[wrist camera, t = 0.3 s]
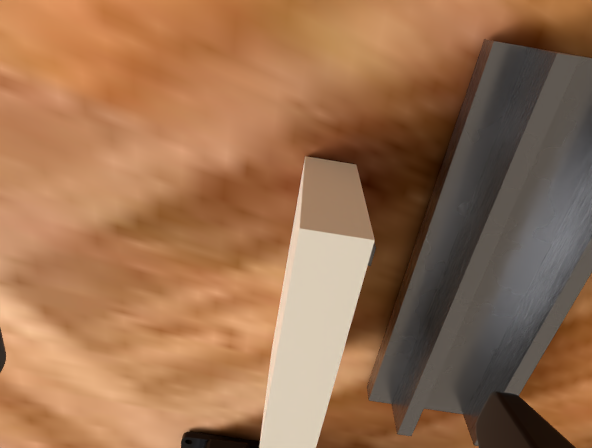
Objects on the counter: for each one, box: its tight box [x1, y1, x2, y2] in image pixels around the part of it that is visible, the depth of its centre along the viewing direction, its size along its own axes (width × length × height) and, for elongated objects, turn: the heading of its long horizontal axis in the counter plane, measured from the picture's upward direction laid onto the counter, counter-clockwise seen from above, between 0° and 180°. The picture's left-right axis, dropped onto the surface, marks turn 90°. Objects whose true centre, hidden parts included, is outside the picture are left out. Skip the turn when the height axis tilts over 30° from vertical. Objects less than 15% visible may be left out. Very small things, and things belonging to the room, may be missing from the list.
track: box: [367, 39, 592, 446], centre depth 20 cm, size 20×8×3 cm, turn 171°
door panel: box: [259, 156, 376, 448], centre depth 19 cm, size 12×3×7 cm, turn 171°
